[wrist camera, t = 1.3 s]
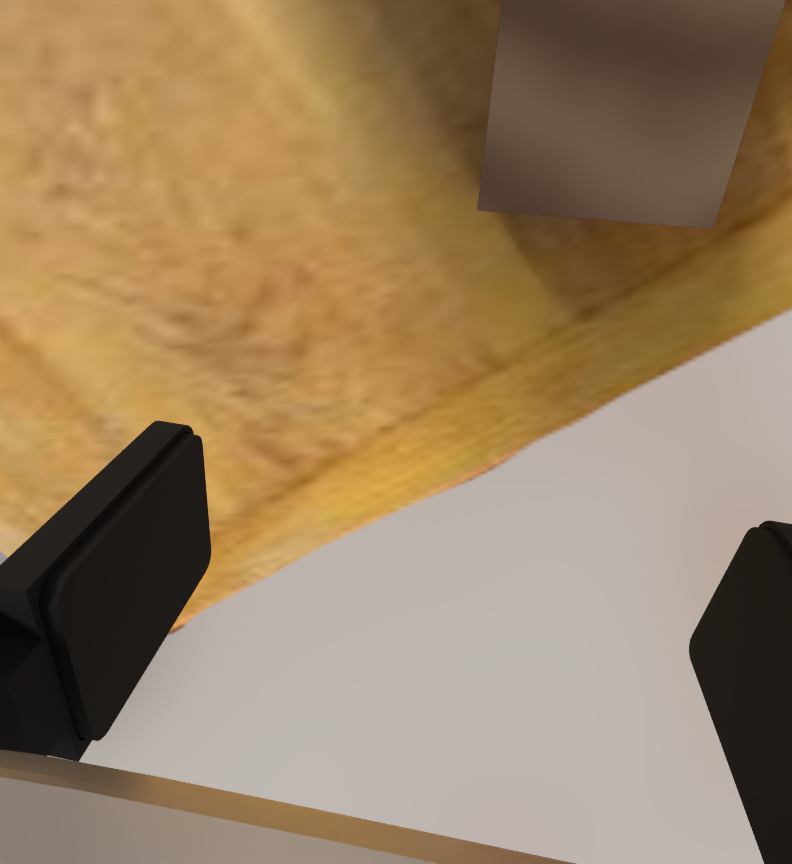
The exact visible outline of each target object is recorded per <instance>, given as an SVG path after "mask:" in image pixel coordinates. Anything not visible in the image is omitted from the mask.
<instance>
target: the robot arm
mask: <svg viewBox="0 0 792 864" xmlns="http://www.w3.org/2000/svg"><path fill="white" fill-rule="evenodd" d="M210 558H211V542H210V529H209V517H208V505H207V493H206V481H205V468H204V456H203V444H202V439H201V437H200V436H198V435H194V433H193V430H192V428H191V427H190V426H188V425H182V424H176V423H170V422H164V421H155V422H153V423H152V424H151V425H150V426H149V427H147V428H146V429H145V430H144V431H143V432H142V433H141V434H140V435H139V436H138V437H137V438H136V439H135V440H134V441H133V442H131V443H130V444H129V445H128V446H127V447H126V448H125V449H124V450H123V451H122V452H121V453H120V454H119V455H118V456H117V457H115V458H114V459H113V460H112V461H111V462H110V463H109V464H108V465H107V466H106V467H105V468H104V469H103V470H102V471H100V472H99V473H98V474H97V475H96V476H95V477H94V478H93V479H92V480H91V481H90V482H89V483H88V484H87V485H86V486H84V487H83V488H82V489H81V490H80V491H79V492H78V493H77V494H76V495H75V496H74V497H73V498H72V499H71V500H70V501H68V502H67V503H66V504H65V505H64V506H63V507H62V508H61V509H60V510H59V511H58V512H57V513H56V514H55V515H53V516H52V517H51V518H50V519H49V520H48V521H47V522H46V523H45V524H44V525H43V526H42V527H41V528H40V529H39V530H37V531H36V532H35V533H34V534H33V535H32V536H31V537H30V538H29V539H28V540H27V541H26V542H25V543H24V544H23V545H21V546H20V547H19V548H18V549H17V550H16V551H15V552H14V553H13V554H12V555H11V556H10V557H9V558H8V559H7V560H5V561H4V562H3V563H2V564H1V565H0V864H575V863H570V862H565V861H560V860H555V859H551V858H546V857H541V856H537V855H531V854H527V853H522V852H518V851H513V850H508V849H503V848H499V847H494V846H489V845H484V844H479V843H475V842H470V841H465V840H460V839H456V838H451V837H447V836H442V835H437V834H432V833H428V832H423V831H418V830H413V829H408V828H403V827H398V826H394V825H389V824H385V823H380V822H374V821H370V820H366V819H361V818H356V817H351V816H346V815H341V814H336V813H332V812H327V811H322V810H317V809H312V808H307V807H303V806H297V805H292V804H288V803H283V802H278V801H273V800H268V799H263V798H259V797H254V796H249V795H244V794H239V793H234V792H229V791H224V790H220V789H214V788H210V787H204V786H199V785H195V784H190V783H185V782H180V781H176V780H171V779H166V778H161V777H156V776H151V775H145V774H140V773H135V772H129V771H124V770H119V769H113V768H108V767H102V766H97V765H91V764H86V763H81V762H79V760H80V758H81V757H82V755H83V754H84V752H85V751H86V749H87V747H88V746H89V744H90V743H91V741H92V740H95V741H98V740H101V739H102V738H103V737H104V736H105V735H106V733H107V732H108V731H109V729H110V727H111V726H112V724H113V723H114V721H115V719H116V718H117V716H118V714H119V713H120V711H121V709H122V708H123V706H124V704H125V703H126V701H127V699H128V698H129V696H130V695H131V693H132V691H133V690H134V688H135V687H136V685H137V683H138V682H139V680H140V678H141V677H142V675H143V674H144V672H145V670H146V669H147V667H148V665H149V664H150V662H151V660H152V659H153V657H154V655H155V654H156V652H157V651H158V649H159V647H160V646H161V644H162V642H163V641H164V639H165V638H166V636H167V634H168V633H169V631H170V629H171V628H172V626H173V624H174V623H175V621H176V620H177V618H178V616H179V615H180V613H181V611H182V610H183V608H184V606H185V605H186V603H187V602H188V600H189V598H190V597H191V595H192V593H193V592H194V590H195V588H196V587H197V585H198V584H199V582H200V580H201V579H202V577H203V575H204V574H205V572H206V570H207V568H208V565H209V562H210ZM689 654H690V659H691V662H692V665H693V668H694V671H695V673H696V676H697V679H698V682H699V684H700V687H701V690H702V693H703V695H704V698H705V701H706V704H707V706H708V709H709V712H710V715H711V718H712V720H713V723H714V726H715V729H716V731H717V734H718V737H719V740H720V742H721V745H722V748H723V751H724V753H725V756H726V759H727V762H728V764H729V767H730V770H731V773H732V775H733V778H734V781H735V784H736V787H737V789H738V792H739V795H740V797H741V800H742V803H743V806H744V809H745V811H746V814H747V817H748V820H749V822H750V825H751V828H752V831H753V833H754V836H755V839H756V842H757V844H758V847H759V850H760V853H761V856H762V858H763V861H764V864H792V524H787V523H781V522H775V521H765V522H763V523H762V524H760V526H759V527H758V528H757V527H753V528H751V529H749V530H748V532H747V533H746V535H745V536H744V538H743V540H742V542H741V544H740V546H739V548H738V550H737V552H736V554H735V555H734V557H733V559H732V561H731V563H730V565H729V567H728V569H727V570H726V572H725V574H724V576H723V578H722V580H721V582H720V584H719V586H718V587H717V589H716V591H715V593H714V595H713V597H712V599H711V601H710V603H709V605H708V607H707V608H706V610H705V612H704V614H703V616H702V618H701V620H700V621H699V623H698V625H697V627H696V629H695V631H694V633H693V635H692V637H691V639H690V645H689ZM47 755H49V756H54V757H58V758H54V757H48V756H47ZM59 758H63V759H59ZM65 759H68V760H65ZM70 760H73V761H70ZM75 761H77V762H75Z"/></svg>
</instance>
